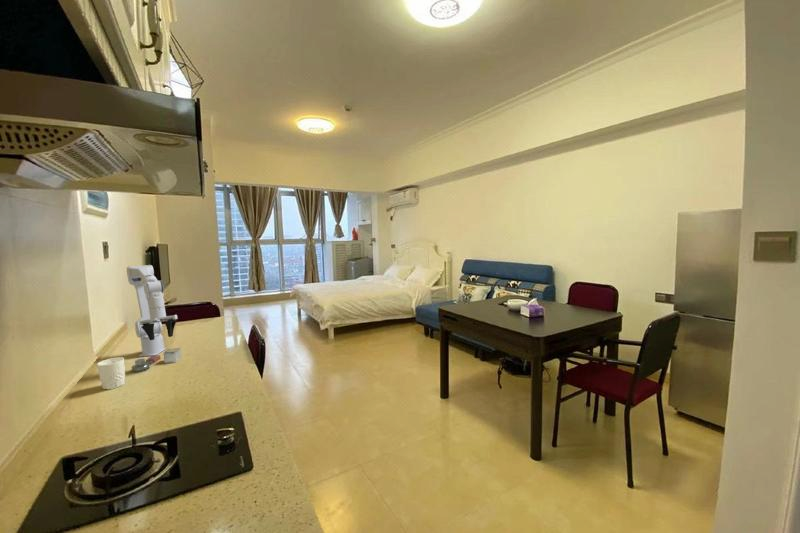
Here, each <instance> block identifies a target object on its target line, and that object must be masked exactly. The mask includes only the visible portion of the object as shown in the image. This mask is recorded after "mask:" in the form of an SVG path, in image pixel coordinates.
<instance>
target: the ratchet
mask: <svg viewBox="0 0 800 533" xmlns="http://www.w3.org/2000/svg"><path fill="white" fill-rule="evenodd" d="M160 360H161V355H160V354H157V355H154V356H149V357H148V358H147V359H145V358H138V359H136V360H134V365H132V366H131V373H133V374H134V373H135V374H136V373H142V372H146V371H148V370H149V369H150V368H151V366H152V365H154V364H155V363H157V362H158V361H160Z"/></svg>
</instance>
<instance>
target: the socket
mask: <svg viewBox="0 0 800 533" xmlns="http://www.w3.org/2000/svg"><path fill="white" fill-rule="evenodd" d="M181 359H182V352H181V347H179V348H178V347H177V348H168V349H167V350H164V351H163V360H164V364H172V363H173V364H174V363H177V362H179V361H180V360H181Z"/></svg>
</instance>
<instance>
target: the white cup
mask: <svg viewBox="0 0 800 533" xmlns="http://www.w3.org/2000/svg"><path fill="white" fill-rule="evenodd" d="M125 363H126V362H125V357H111V358H108V359H104V360H101V361H98V362H97V365H96V366H97V370H98V371H97V372H98V377H99V381H100V384H101V389H102V388H103V389H102V390H104V389H107V390H113V389H117V388H120V387H122V386H125V383H126V367H125Z"/></svg>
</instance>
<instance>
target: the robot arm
mask: <svg viewBox="0 0 800 533" xmlns="http://www.w3.org/2000/svg"><path fill="white" fill-rule="evenodd" d="M126 276H127V280H128V283H129V285H132V286H133V287H134V288H135V291H136V298H137V301H138V308H139V314H140V318H138V319H137V321H135V323H134V326H135V335H136V337H137V338H139V339H140V343H141V351H142V352H141V353H140V354H139V355H138V356H137V357H138V358H139V357H151V356H156V355H160V353H162V352H165V351H166V349H167V347H165V343H164V337H163V335H162V334H161V333H162V332H163V325H162V324H163V323H162V322H164V324H165V327H166V330H167V336H168V338H171V337H173V336H174V331H175V330H174V329H175V326H176V324H177V321H178V319H179V318H178V315H177V314H174V315H167V313H166V307H165V300H164V291H165V287H164V283H163V281H162V280H158V278H157V277H156V276H155V270H154V267H153V265H151V264H148V265H147V264H145V265H135V266H130V265H129V266H127V267H126Z"/></svg>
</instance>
